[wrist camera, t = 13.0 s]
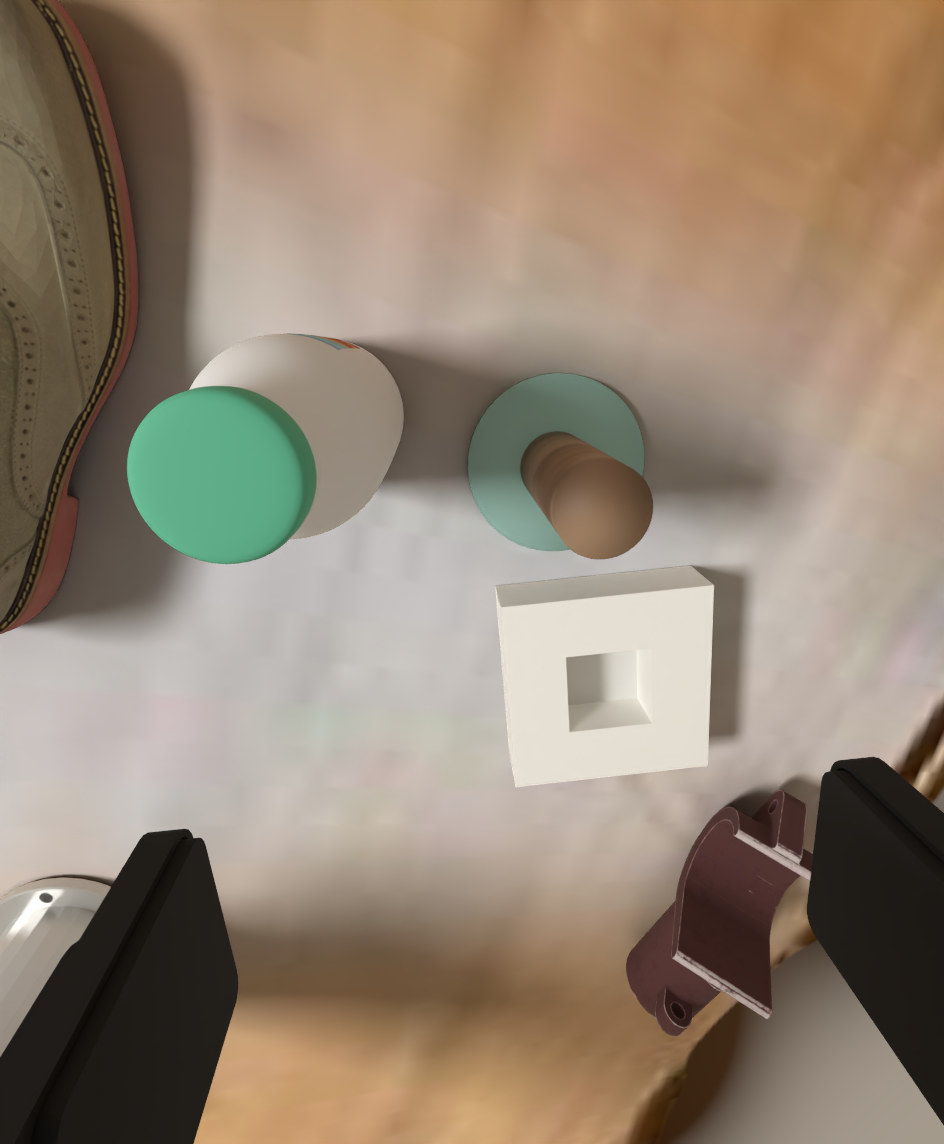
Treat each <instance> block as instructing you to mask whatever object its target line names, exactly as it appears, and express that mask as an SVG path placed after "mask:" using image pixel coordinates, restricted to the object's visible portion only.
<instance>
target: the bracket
mask: <svg viewBox="0 0 944 1144" xmlns="http://www.w3.org/2000/svg"><path fill="white" fill-rule="evenodd" d="M806 816H807V806H806V804H805V803H803V802H801V801H800V800H798V799H796V798H794V797H793V796H791V795H789V794H787V793H786V792H784V791H782V790H778V791H776V792H775V793H774V794H773V795H772V796H771V797H770V798H769V799H768V800H767V801H766V803H765V804H764V805H763V806H762V807H761V808H760V809H759V810H758V811H757V813H756V814H755V815H754V816H753V817H752V818H750V817H748V816H747V815H745V814H743V813H741V812H740V811H738V810H736V809H735V808H733V807H726V808H724V809H722V810H720V811H719V812H718V813H716V814H715V815H714V816H713V817H712V818H711V819H710V821H709V822H708V824H707V825H706V826H705V828H704V829H703V831H702V832H701V834H700V835H699V836H698V838H697V839H696V841H695V843H694V845H693V846H692V848H691V850H690V853H689V855H688V857H687V859H686V862H685V864H684V867H683V870H682V873H681V876H680V879H679V883H678V887H677V893H676V901H675V902H674V903H673V904H672V906H671V907H670V908H669V909H668V910H667V911H666V912H665V913H664V915H663V916H662V917H661V918H660V919H659V920H658V921H657V922H656V924H655V925H654V926H653V927H652V928H651V929H650V930H649V931H648V932H647V934H646V935H645V936H644V937H643V938H642V939H641V940H640V941H639V943H638V944H637V945H636V946H635V947H634V948H633V949H632V950H631V952H630V953H629V955H628V958H627V963H626V971H627V977H628V981H629V984H630V987H631V989H632V991H633V993H634V995H635V997H636V998H637V1000H638V1001H639V1002H640V1004H641V1005H642V1006H643V1007H644V1009H645V1010H646V1011H647V1012H648V1013H650V1014H651V1015H652V1016H653V1017H655V1018H656V1020H657V1022H658V1024H659V1026H660V1027H661V1029H662V1030H663V1031H664V1032H665V1033H667V1034H668V1035H671V1036H678V1035H680V1034H681V1033H682V1032H683V1031H684V1030H685V1029H686V1028H687V1027H688V1026H689V1025H690V1024H691V1021H692V1018H693V1017H694V1016H695V1015H696V1014H697V1013H698V1012H699V1011H700V1010H702V1009H703V1008H704V1007H705V1006H706V1005H707V1004H708V1003H709V1002H710V1001H711V1000H712V999H713V998H714V997H716V996H717V995H718V994H719V993H720V992H721V991H722V992H725V993H727V994H728V995H730V996H732V997H733V998H735V999H736V1000H738V1001H739V1002H741V1003H743V1004H744V1005H745V1006H747V1007H749V1008H750V1009H752V1010H753V1011H755V1012H756V1013H758V1014H759V1015H761V1016H763V1017H764V1018H766V1019H768V1018H769V1017H770V1015H771V1012H772V999H771V970H770V930H771V924H772V920H773V917H774V914H775V911H776V909H777V906H778V904H779V902H780V900H781V898H782V896H783V895H784V893H785V891H786V890H787V889H788V887H789V886H790V885H791V884H792V883H793V882H794V881H795V880H796V879H797V878H798V877H799V876H802V877H804V878H806V879H808V880H809V881H810V877H811V868H812V860H813V854H811V853H810V852H808V851H806V850H805V849H803V843H804V834H805V825H806Z"/></svg>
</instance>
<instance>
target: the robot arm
mask: <svg viewBox="0 0 944 1144" xmlns="http://www.w3.org/2000/svg"><path fill="white" fill-rule="evenodd" d="M807 915H808V920H809V923H810V926H811V929H812V931H813V933H814V935H815V936H816V938H817V939H818V941H819V942H820V944H821V945H822V947H823V948H824V949H825V951H826V953H827V954H828V956H829V957H830V959H831V960H832V961H833V963H834V964H835V966H836V967H837V969H838V970H839V972H840V973H841V975H842V976H843V978H844V979H845V980H846V982H847V983H848V985H849V987H850V988H851V989H852V991H853V992H854V994H855V995H856V997H857V998H858V1000H859V1001H860V1003H861V1004H862V1006H863V1007H864V1008H865V1010H866V1012H867V1013H868V1015H869V1016H870V1017H871V1019H872V1020H873V1022H874V1023H875V1025H876V1026H877V1028H878V1029H879V1031H880V1032H881V1034H882V1035H883V1036H884V1038H885V1040H886V1041H887V1042H888V1044H889V1045H890V1047H891V1048H892V1050H893V1051H894V1053H895V1054H896V1056H897V1057H898V1059H899V1060H900V1062H901V1063H902V1065H903V1066H904V1068H905V1069H906V1070H907V1072H908V1073H909V1075H910V1076H911V1078H912V1079H913V1081H914V1082H915V1084H916V1085H917V1086H918V1088H919V1089H920V1091H921V1093H922V1094H923V1095H924V1097H925V1098H926V1100H927V1101H928V1103H929V1104H930V1106H931V1107H932V1109H933V1110H934V1112H935V1113H936V1115H937V1116H938V1118H939V1119H940V1120H941V1122H942V1123H943V1125H944V813H943V812H942V811H941V810H939V809H938V808H937V807H936V806H935V805H934V804H932V803H931V802H930V801H929V800H928V799H927V798H926V797H924V796H923V795H922V794H921V793H920V792H919V791H917V790H916V789H915V788H914V787H913V786H912V785H911V784H909V783H908V782H907V781H906V780H905V779H904V778H903V777H901V776H900V775H899V774H898V773H897V772H896V771H894V770H893V769H892V768H891V767H890V766H889V765H888V764H886V763H885V762H884V761H882V760H881V759H879V758H876V757H868V758H858V759H849V760H839V761H837V762H835V763H834V764H833V765H832V767H831V771H830V772H826V773H825V774H824V775H823V778H822V782H821V791H820V800H819V808H818V817H817V825H816V834H815V843H814V851H813V860H812V868H811V877H810V886H809V894H808V903H807ZM237 993H238V975H237V970H236V966H235V962H234V958H233V954H232V950H231V946H230V942H229V938H228V933H227V929H226V925H225V921H224V917H223V913H222V909H221V905H220V901H219V897H218V893H217V889H216V885H215V881H214V877H213V873H212V869H211V865H210V861H209V857H208V853H207V849H206V845H205V843H204V841H203V839H202V838H193V836H192V833H191V832H190V831H189V830H187V829H179V830H170V831H160V832H150V833H147V834H145V835H143V837H142V838H141V839H140V840H139V842H138V844H137V845H136V847H135V848H134V850H133V852H132V853H131V855H130V857H129V858H128V860H127V862H126V863H125V865H124V867H123V868H122V870H121V872H120V873H119V875H118V876H117V878H116V880H115V881H114V883H113V885H112V886H108V885H105V884H103V883H100V882H95V881H90V880H86V879H78V878H51V879H43V880H39V881H34V882H30V883H27V884H25V885H23V886H20V887H18V888H16V889H14V890H12V891H11V892H9V893H8V894H6V895H5V896H3V897H2V898H1V899H0V1144H193V1143H194V1140H195V1137H196V1133H197V1130H198V1127H199V1123H200V1120H201V1117H202V1113H203V1110H204V1107H205V1103H206V1100H207V1097H208V1093H209V1090H210V1087H211V1083H212V1080H213V1077H214V1073H215V1070H216V1067H217V1063H218V1060H219V1057H220V1053H221V1050H222V1047H223V1043H224V1040H225V1037H226V1034H227V1030H228V1027H229V1024H230V1020H231V1017H232V1014H233V1010H234V1007H235V1003H236V999H237Z"/></svg>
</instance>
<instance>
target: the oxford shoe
mask: <svg viewBox="0 0 944 1144" xmlns="http://www.w3.org/2000/svg"><path fill="white" fill-rule="evenodd" d="M138 303H139V283H138V264H137V252H136V244H135V236H134V229H133V222H132V215H131V208H130V200H129V194H128V188H127V183H126V178H125V172H124V168H123V163H122V159H121V154H120V150H119V146H118V142H117V139H116V135H115V131H114V127H113V123H112V119H111V115H110V111H109V107H108V104H107V101H106V97H105V94H104V91H103V88H102V84H101V81H100V78H99V75H98V72H97V69H96V67H95V64H94V61H93V59H92V56H91V54H90V52H89V50H88V47H87V45H86V43H85V41H84V39H83V37H82V35H81V34H80V32H79V30H78V28H77V27H76V25H75V23H74V22H73V20H72V19H71V17H70V16H69V14H68V13H67V12H66V10H65V9H64V7H63V6H62V5H61V4H60V2H59V1H58V0H0V634H2V633H4V632H7V631H10V630H12V629H15V628H17V627H19V626H21V625H22V624H24V623H26V622H28V621H29V620H31V619H32V618H34V617H35V616H36V615H38V614H39V613H40V612H41V611H42V610H43V609H44V608H45V607H46V606H47V605H48V603H49V602H50V601H51V599H52V598H53V597H54V595H55V593H56V592H57V590H58V588H59V586H60V584H61V581H62V579H63V577H64V574H65V571H66V568H67V564H68V561H69V557H70V553H71V549H72V544H73V539H74V533H75V528H76V522H77V514H78V505H79V500H78V499H77V498H75V497H73V496H70V495H68V494H67V491H68V485H69V480H70V476H71V473H72V470H73V467H74V464H75V461H76V458H77V456H78V454H79V452H80V449H81V447H82V445H83V443H84V441H85V439H86V437H87V435H88V433H89V430H90V429H91V427H92V425H93V423H94V421H95V419H96V417H97V415H98V413H99V412H100V410H101V408H102V406H103V404H104V403H105V401H106V399H107V398H108V396H109V394H110V392H111V391H112V389H113V387H114V385H115V383H116V382H117V380H118V378H119V376H120V374H121V372H122V370H123V368H124V366H125V364H126V361H127V358H128V356H129V353H130V350H131V347H132V344H133V340H134V336H135V332H136V326H137V318H138Z"/></svg>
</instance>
